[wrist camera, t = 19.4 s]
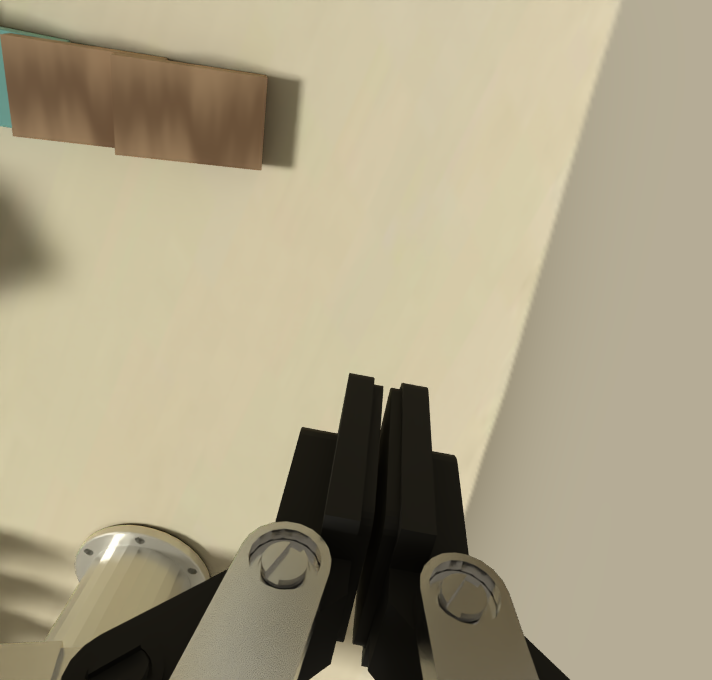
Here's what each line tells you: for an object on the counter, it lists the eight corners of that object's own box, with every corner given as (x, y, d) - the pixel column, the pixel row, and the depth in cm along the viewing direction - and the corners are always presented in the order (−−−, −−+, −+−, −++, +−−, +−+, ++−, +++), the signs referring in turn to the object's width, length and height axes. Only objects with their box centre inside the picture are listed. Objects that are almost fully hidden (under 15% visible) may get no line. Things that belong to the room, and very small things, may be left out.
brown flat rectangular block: (261, 170, 33) (115, 154, 31) (259, 164, 34) (120, 148, 32) (267, 77, 30) (110, 54, 28) (265, 75, 32) (115, 52, 30)
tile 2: (165, 153, 33) (13, 136, 31) (167, 147, 34) (21, 130, 32) (165, 60, 30) (0, 34, 28) (167, 57, 32) (9, 32, 30)
